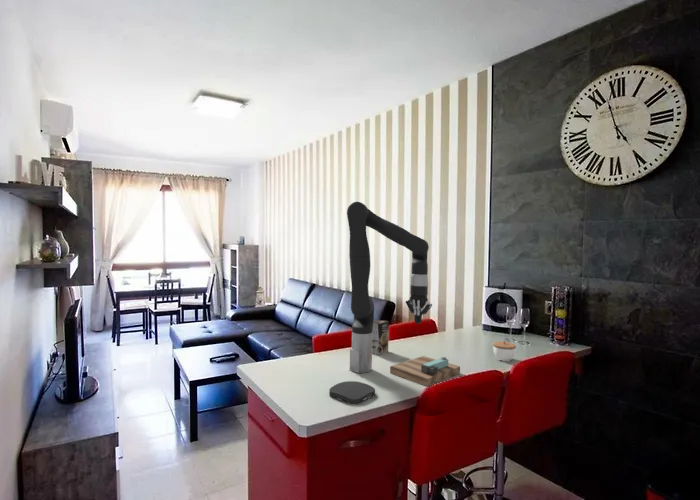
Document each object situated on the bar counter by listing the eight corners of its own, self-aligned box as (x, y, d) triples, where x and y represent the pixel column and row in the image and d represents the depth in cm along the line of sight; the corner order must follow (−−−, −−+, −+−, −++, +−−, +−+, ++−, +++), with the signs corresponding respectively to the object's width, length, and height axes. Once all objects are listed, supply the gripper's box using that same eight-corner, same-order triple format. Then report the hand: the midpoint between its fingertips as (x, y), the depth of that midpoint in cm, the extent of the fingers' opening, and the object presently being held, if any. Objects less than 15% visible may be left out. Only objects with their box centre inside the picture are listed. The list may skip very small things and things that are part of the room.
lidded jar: (517, 363, 187) (518, 344, 187) (494, 362, 189) (494, 343, 189) (513, 357, 198) (513, 339, 197) (490, 355, 200) (491, 337, 199)
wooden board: (427, 386, 156) (427, 372, 156) (390, 372, 171) (390, 360, 171) (459, 373, 172) (460, 361, 172) (423, 362, 187) (423, 350, 187)
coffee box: (379, 355, 197) (380, 323, 196) (368, 352, 201) (369, 322, 200) (388, 351, 204) (389, 320, 203) (378, 349, 208) (379, 319, 207)
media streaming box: (349, 385, 157) (349, 377, 157) (379, 395, 147) (379, 387, 147) (324, 396, 145) (325, 388, 145) (355, 407, 136) (355, 399, 136)
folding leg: (442, 364, 174) (442, 356, 174) (448, 365, 172) (448, 357, 172) (421, 371, 164) (421, 363, 164) (427, 373, 162) (427, 365, 161)
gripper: (401, 283, 172) (400, 322, 173) (427, 286, 163) (426, 327, 163) (411, 282, 177) (410, 319, 178) (436, 285, 168) (435, 324, 169)
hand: (418, 323), depth 171 cm, fingers closed
